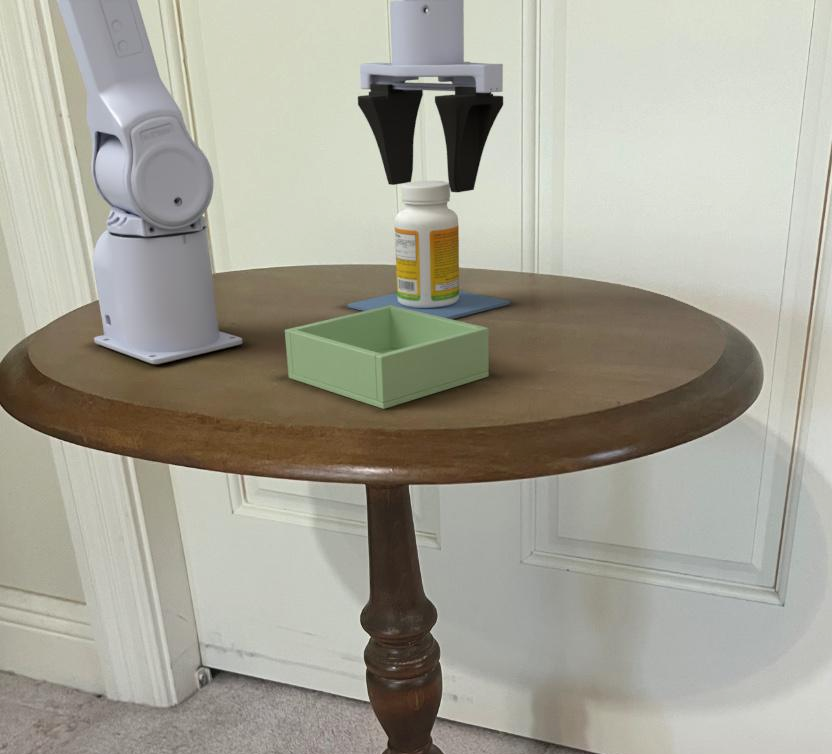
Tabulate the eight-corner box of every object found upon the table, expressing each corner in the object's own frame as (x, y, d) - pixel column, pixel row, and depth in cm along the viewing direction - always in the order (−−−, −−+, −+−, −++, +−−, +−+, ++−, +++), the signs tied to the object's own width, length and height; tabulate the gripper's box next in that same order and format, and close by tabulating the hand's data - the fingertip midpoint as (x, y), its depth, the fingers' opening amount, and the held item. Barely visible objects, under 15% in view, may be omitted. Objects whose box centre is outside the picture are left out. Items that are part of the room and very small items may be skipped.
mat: (347, 307, 95) (347, 303, 94) (430, 288, 100) (430, 284, 100) (425, 326, 88) (425, 322, 88) (509, 304, 94) (509, 300, 94)
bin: (288, 378, 76) (284, 329, 75) (391, 350, 82) (390, 304, 80) (383, 409, 69) (381, 357, 68) (488, 376, 75) (489, 327, 74)
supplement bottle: (461, 295, 96) (460, 178, 92) (457, 309, 92) (456, 187, 87) (400, 295, 97) (397, 179, 92) (393, 309, 92) (389, 188, 87)
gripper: (531, -4, 81) (527, 188, 88) (402, 2, 91) (407, 175, 97) (464, -3, 77) (465, 199, 83) (336, 3, 87) (346, 184, 93)
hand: (430, 187), depth 90 cm, fingers open, 7 cm apart
